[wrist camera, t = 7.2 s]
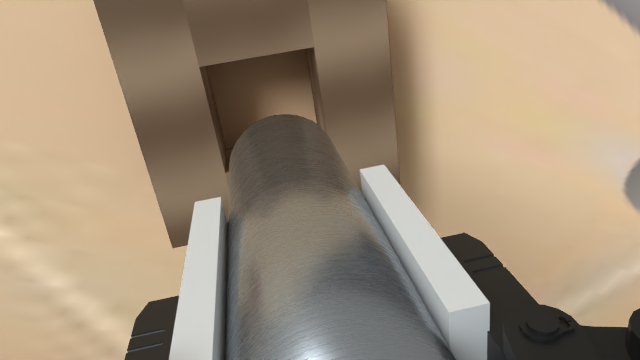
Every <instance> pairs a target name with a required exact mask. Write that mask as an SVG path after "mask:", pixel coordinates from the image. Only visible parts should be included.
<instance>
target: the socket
mask: <svg viewBox="0 0 640 360" xmlns="http://www.w3.org/2000/svg"><path fill="white" fill-rule="evenodd" d="M93 1H94V4H95V7H96V10H97V13H98V16H99V19H100V22H101V25H102V29H103V32H104V35H105V38H106V41H107V44H108V47H109V50H110V54H111V57H112V60H113V63H114V66H115V69H116V72H117V75H118V79H119V82H120V85H121V88H122V91H123V94H124V97H125V100H126V104H127V107H128V110H129V113H130V116H131V119H132V122H133V125H134V129H135V132H136V135H137V138H138V141H139V144H140V147H141V150H142V154H143V157H144V160H145V163H146V166H147V169H148V172H149V175H150V179H151V182H152V185H153V188H154V191H155V194H156V197H157V200H158V204H159V207H160V210H161V213H162V216H163V219H164V222H165V225H166V229H167V232H168V235H169V238H170V241H171V244H172V247H173V248H176V247H181V246H186V245H188V240H189V234H190V228H191V222H192V216H193V210H194V204H195V202H197V201H202V200H207V199H212V198H217V197H221V199H222V203H223V207H224V210H225V214H226V218H227V222H228V202H229V163H230V156H231V153H232V150H233V148H231V149H226V147H225V142H224V138H223V134H222V130H221V126H220V122H219V117H218V113H217V109H216V105H215V101H214V97H213V92H212V88H211V84H210V80H209V76H208V72H207V67H206V66H208V65H214V64H219V63H225V62H231V61H237V60H242V59H248V58H254V57H260V56H266V55H271V54H277V53H283V52H289V51H294V50H300V49H306V53H307V60H308V67H309V73H310V80H311V87H312V93H313V100H314V107H315V113H316V120H317V125H319V126H320V127H321V128H322V129H323V130H324V131H325V132H326V133H327V134H328V136H329V137H330V138H331V140H332V142H333V144H334V146H335V147H336V149H337V151H338V153H339V154H340V156H341V158H342V160H343V161H344V163H345V165H346V167H347V168H348V170H349V172H350V174H351V176H352V177H353V179H354V181H355V183H356V184H357V186H358V188H359V190H360V191H361V193H362V187H361V178H360V169H364V168H369V167H374V166H379V165H385V166H386V168H387V169H388V170H389V172H390V173H391V174H392V175H393V177H394V178H395V179H396V181H397V182H398V183H399V185H400V175H399V162H398V149H397V137H396V124H395V111H394V98H393V85H392V72H391V60H390V47H389V34H388V21H387V8H386V0H93Z"/></svg>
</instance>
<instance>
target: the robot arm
mask: <svg viewBox="0 0 640 360" xmlns="http://www.w3.org/2000/svg"><path fill="white" fill-rule="evenodd" d="M360 178H361V187H362V195H363V197H364V198H365V200H366V202H367V204H368V205H369V207H370V209H371V211H372V213H373V214H374V216H375V218H376V220H377V221H378V223H379V225H380V227H381V228H382V230H383V232H384V234H385V235H386V237H387V239H388V241H389V243H390V244H391V246H392V248H393V250H394V251H395V253H396V255H397V257H398V258H399V260H400V262H401V264H402V265H403V267H404V269H405V271H406V272H407V274H408V276H409V278H410V280H411V281H412V283H413V285H414V287H415V288H416V290H417V292H418V294H419V295H420V297H421V299H422V301H423V302H424V304H425V306H426V308H427V309H428V311H429V313H430V315H431V317H432V318H433V320H434V322H435V324H436V325H437V327H438V329H439V331H440V332H441V334H442V336H443V338H444V339H445V341H446V343H447V345H448V347H449V348H450V350H451V352H452V354H453V355H454V357H455V359H456V360H640V309H638V310H636V311H634V312H633V314H632V315H631V317H630V319H629V324H628V327H591V326H581V325H579V324H578V323H577V322H576V321H575V320H574V319H573V318H572V316H570V315H568V314H566V313H565V312H563V311H561V310H559V309H557V308H553V307H549V306H546V305H539V304H538V303H537V302H536V301H535V300H534V298H533V297H532V296H531V295H530V294H529V293H528V292H527V291H526V290H525V288H524V287H523V286H522V285H521V284H520V283H519V282H518V281H517V280H516V279H515V277H514V276H513V275H512V274H511V273H510V272H509V271H508V270H507V269H506V268H505V267H503V264H502V263H501V262H500V261H499V260H498V259H497V258H496V257H494V254H493V253H492V252H491V251H490V250H489V249H488V248H487V247H486V245H485V244H484V243H483V242H481V241H480V240H478V239H476V238H474V237H472V236H470V235H468V234H466V233H462V234H457V235H452V236H448V237H443V238H440V237H439V236H438V234H437V233H436V232H435V230H434V229H433V228H432V227H431V225H430V224H429V223H428V221H427V220H426V219H425V217H424V216H423V215H422V213H421V212H420V211H419V210H418V208H417V207H416V206H415V204H414V203H413V202H412V200H411V199H410V198H409V196H408V195H407V194H406V192H405V191H404V190H403V189H402V187H401V186H400V185H399V183H398V182H397V181H396V179H395V178H394V177H393V175H392V174H391V173H390V172H389V170H388V169H387V168H386V166H385V165H379V166H374V167H369V168H364V169H360ZM227 245H228V222H227V218H226V214H225V210H224V207H223V203H222V199H221V197H217V198H212V199H207V200H202V201H197V202H195V204H194V210H193V216H192V222H191V228H190V234H189V240H188V246H187V252H186V258H185V264H184V270H183V276H182V282H181V288H180V294H179V296H175V297H170V298H166V299H161V300H156V301H152V302H149V303H148V304H147V305H146V306H145V308H144V309H143V310H142V312H141V313H140V314H139V315H138V317H137V318H136V320H135V324H134V327H133V331H132V335H131V337H132V339H130V342H129V345H128V349H127V351H128V353H126V356H125V360H225V330H226V288H227Z"/></svg>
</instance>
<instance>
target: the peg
mask: <svg viewBox="0 0 640 360" xmlns="http://www.w3.org/2000/svg"><path fill="white" fill-rule="evenodd" d="M225 360H456V359H455V357H454V355H453V354H452V352H451V350H450V348H449V347H448V345H447V343H446V341H445V339H444V338H443V336H442V334H441V332H440V331H439V329H438V327H437V325H436V324H435V322H434V320H433V318H432V317H431V315H430V313H429V311H428V309H427V308H426V306H425V304H424V302H423V301H422V299H421V297H420V295H419V294H418V292H417V290H416V288H415V287H414V285H413V283H412V281H411V280H410V278H409V276H408V274H407V272H406V271H405V269H404V267H403V265H402V264H401V262H400V260H399V258H398V257H397V255H396V253H395V251H394V250H393V248H392V246H391V244H390V243H389V241H388V239H387V237H386V235H385V234H384V232H383V230H382V228H381V227H380V225H379V223H378V221H377V220H376V218H375V216H374V214H373V213H372V211H371V209H370V207H369V205H368V204H367V202H366V200H365V198H364V197H363V195H362V193H361V191H360V190H359V188H358V186H357V184H356V183H355V181H354V179H353V177H352V176H351V174H350V172H349V170H348V168H347V167H346V165H345V163H344V161H343V160H342V158H341V156H340V154H339V153H338V151H337V149H336V147H335V146H334V144H333V142H332V140H331V138H330V137H329V136H328V134H327V133H326V132H325V131H324V130H323V129H322V128H321V127H320V126H319V125H317V124H316V123H314V122H313V121H311V120H309V119H306V118H304V117H300V116H297V115H285V114H282V115H274V116H270V117H267V118H264V119H262V120H259V121H258V122H256V123H254V124H253V125H251V126H250V127H248V128H247V129H246V130H245V131H244V132H243V133H242V134H241V136H240V137H239V138H238V140H237V141H236V143H235V145H234V147H233V150H232V153H231V156H230V163H229V202H228V245H227V288H226V330H225Z"/></svg>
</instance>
